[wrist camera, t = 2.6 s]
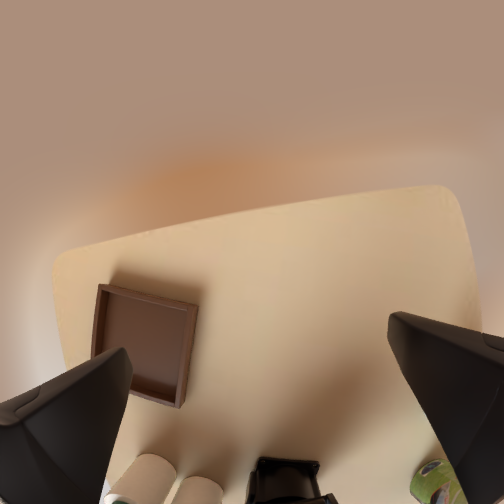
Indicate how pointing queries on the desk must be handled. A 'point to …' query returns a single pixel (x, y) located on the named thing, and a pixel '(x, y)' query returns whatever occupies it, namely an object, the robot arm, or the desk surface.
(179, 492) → the white bottle
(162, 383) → the tray
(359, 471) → the desk surface
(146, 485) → the white bottle
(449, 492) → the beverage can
